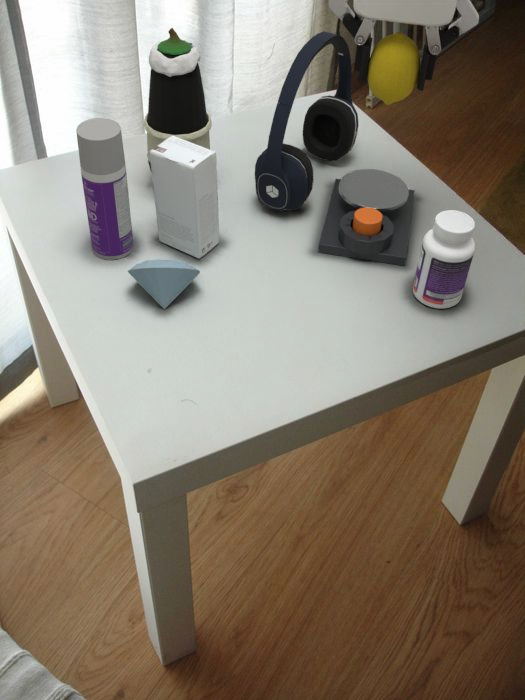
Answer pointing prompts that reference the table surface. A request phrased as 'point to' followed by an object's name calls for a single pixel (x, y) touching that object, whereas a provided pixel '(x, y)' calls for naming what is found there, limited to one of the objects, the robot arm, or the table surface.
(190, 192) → the cosmetic box
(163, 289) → the gemstone
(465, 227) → the pill bottle
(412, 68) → the lemon
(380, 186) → the scale pan
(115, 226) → the container
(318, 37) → the earphone
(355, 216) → the tare button
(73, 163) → the table surface
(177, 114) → the toy
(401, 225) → the scale
